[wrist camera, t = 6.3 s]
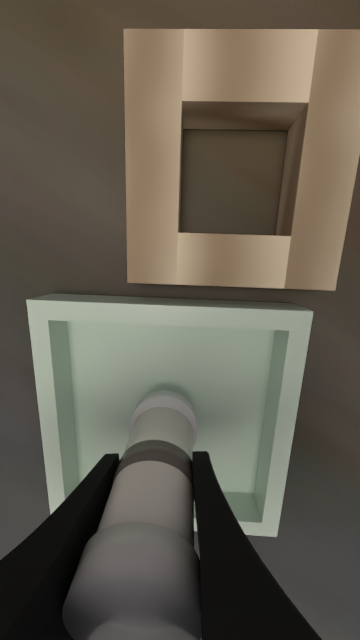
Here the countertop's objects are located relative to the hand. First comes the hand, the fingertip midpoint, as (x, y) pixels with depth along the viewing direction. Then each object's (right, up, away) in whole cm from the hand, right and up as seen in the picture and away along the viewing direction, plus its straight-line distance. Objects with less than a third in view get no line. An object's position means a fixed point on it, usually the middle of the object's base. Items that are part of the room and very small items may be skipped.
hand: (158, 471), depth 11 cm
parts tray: (0, +1, +5) cm, 5 cm away
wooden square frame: (+4, +14, +2) cm, 14 cm away
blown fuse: (0, +1, +3) cm, 3 cm away
